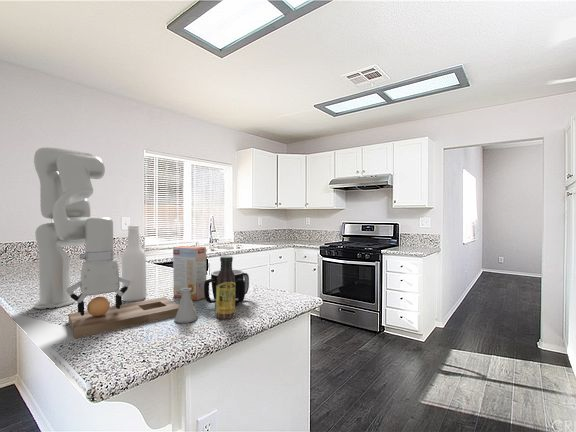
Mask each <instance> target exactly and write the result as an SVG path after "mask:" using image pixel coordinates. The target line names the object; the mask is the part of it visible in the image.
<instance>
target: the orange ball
mask: <svg viewBox="0 0 576 432" xmlns="http://www.w3.org/2000/svg"><path fill="white" fill-rule="evenodd" d="M109 307H111V304H110V301H109V299H108V298H107V297H105V296H96V297H93V298H92V299H91V300H89V302H88V303H87V307H86V311H88V312H89V314H91V315H92V316H102V315H104V314H105V313H106V312H107V311H108V310H109Z"/></svg>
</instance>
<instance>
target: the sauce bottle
mask: <svg viewBox="0 0 576 432" xmlns="http://www.w3.org/2000/svg"><path fill="white" fill-rule="evenodd" d="M219 258H220V259H219V261H220V272H219V274H218V276H217V285H216V303H215V316H216V318H217V319H221V320H228V319H230V318H234V316H235V312H236V305H235V275H234V273H233V271H232V270H233V260H234V257H233V256H231V255H230V256H229V255H224V256H220V257H219Z"/></svg>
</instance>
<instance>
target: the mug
mask: <svg viewBox="0 0 576 432" xmlns="http://www.w3.org/2000/svg"><path fill="white" fill-rule="evenodd" d="M220 270H221V269H220ZM220 270H216V271H213V272H211V273H210V278H209V279H208V278H207V279H206V281H205V283H204V296H205V298H204V299H205V300H206V302H207V303H208V304H214V303H215V304H216V285H217V276H218V274H219V272H220ZM232 271H233V273H234V275H235V306H236V305H239V304H240V303H243V301H244V300H245V297H246V296H245V295H247V293H248V290H249V287H250V278H249V277H250V276H249V274H248V273H246V272H244V270H240V269H232ZM210 283H211V288H212V295H213V298H212V299H211V297H210Z"/></svg>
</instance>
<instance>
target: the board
mask: <svg viewBox="0 0 576 432" xmlns="http://www.w3.org/2000/svg"><path fill="white" fill-rule="evenodd" d="M179 305H180V304H178V303H175V302H174V301H172V300H170V299H169V298H167V297H165V296H162V297H157V298H156V297H155V298H152V299H146V300H145V299H144V300H140V301H134V302H127V303H122V305H120V309H117V308H116V305H113V306H112V305H110V307H109V310H108V311H107V312H106V313H105V314H104V315H102V316H92V315H91V314H89V312H88V310H84V315H83V316H81V314H80V313H78V311H77V312H72V313H68V323H69V326H70V330H71V331H72V335H73V336H74V339H79V338H84V337H89V336H92V335H97V334H101V333H106V332H110V331H115V330H120V329H123V328H128V327H132V326H138V325H142V324H146V323H150V322H151V323H152V322H156V321H161V320H165V319H168V318H172V317H173V318H175V317H176V314H177V311H178V308H179Z"/></svg>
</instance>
